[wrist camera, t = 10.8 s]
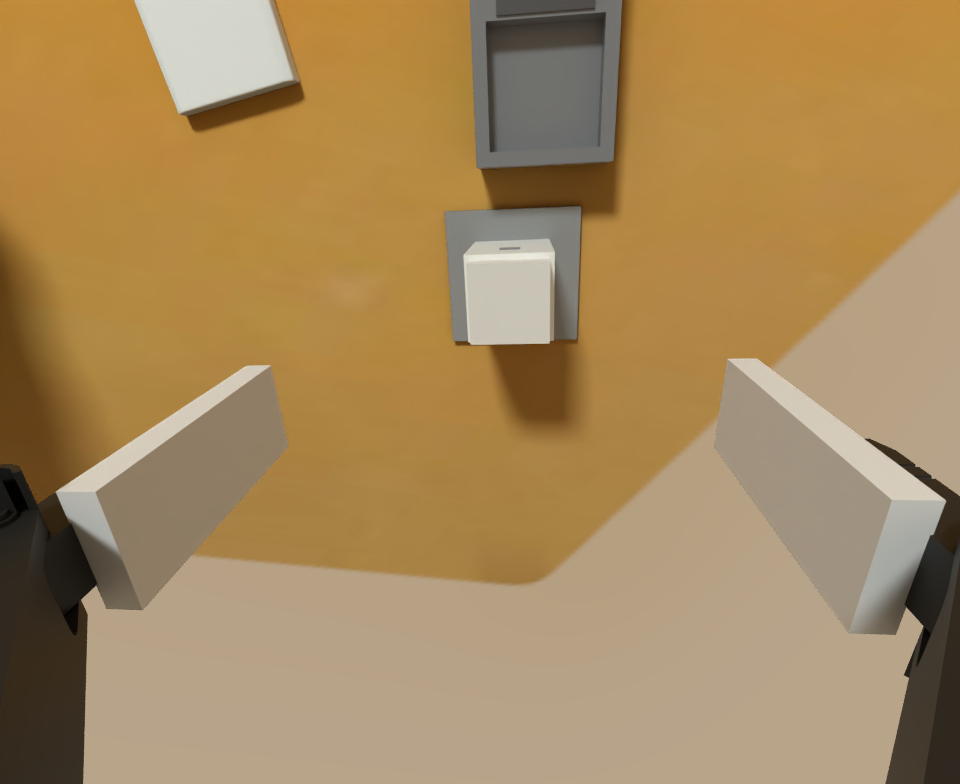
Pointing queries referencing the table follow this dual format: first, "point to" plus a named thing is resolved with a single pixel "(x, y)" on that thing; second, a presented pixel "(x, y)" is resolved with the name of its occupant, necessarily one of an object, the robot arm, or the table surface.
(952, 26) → the table surface
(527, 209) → the mat
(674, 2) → the table surface
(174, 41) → the external hard drive
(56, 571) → the robot arm
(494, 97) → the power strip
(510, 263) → the block
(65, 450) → the table surface
